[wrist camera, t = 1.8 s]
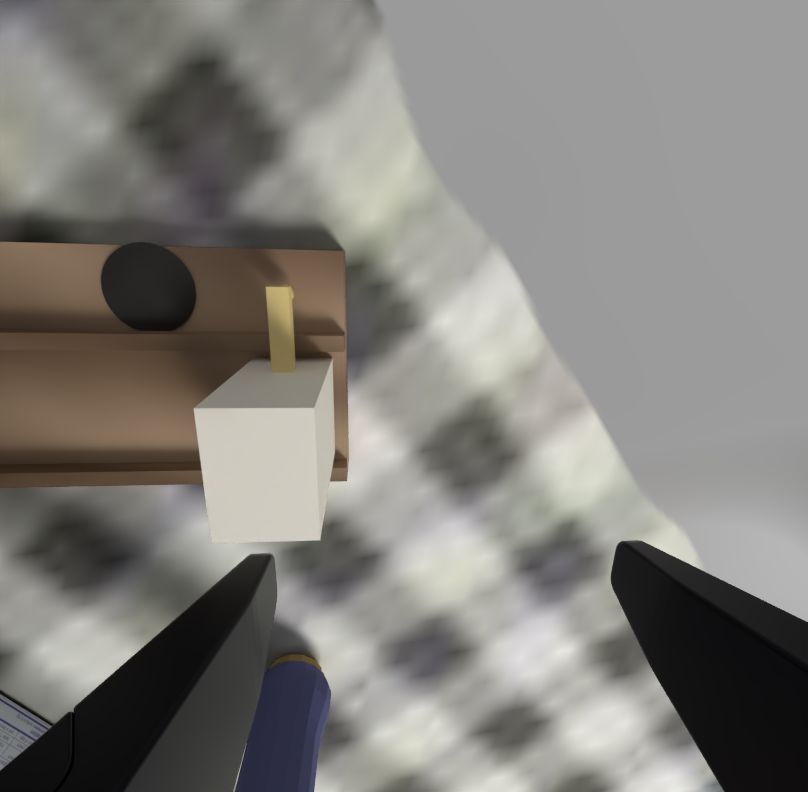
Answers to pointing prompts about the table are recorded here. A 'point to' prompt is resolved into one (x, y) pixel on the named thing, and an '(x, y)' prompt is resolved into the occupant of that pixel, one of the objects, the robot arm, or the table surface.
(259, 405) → the slider
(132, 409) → the wooden peg rack
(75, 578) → the table surface
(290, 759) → the rubber mallet
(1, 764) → the medicine box
